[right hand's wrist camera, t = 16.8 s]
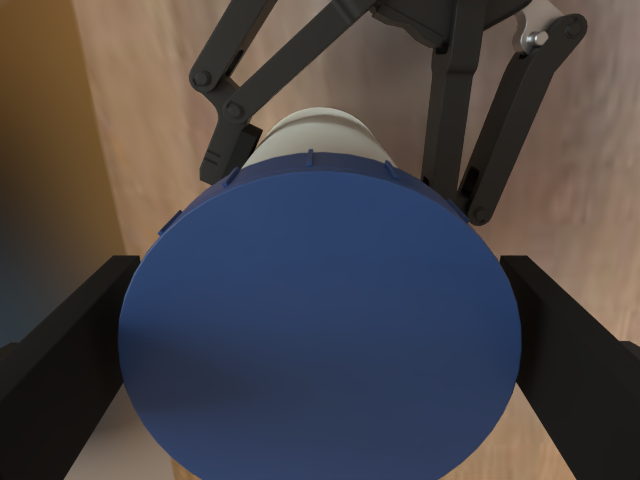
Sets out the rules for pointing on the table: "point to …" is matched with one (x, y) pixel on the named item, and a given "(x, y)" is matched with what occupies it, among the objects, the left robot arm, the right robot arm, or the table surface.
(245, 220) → the lid
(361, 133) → the jar
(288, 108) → the table surface
